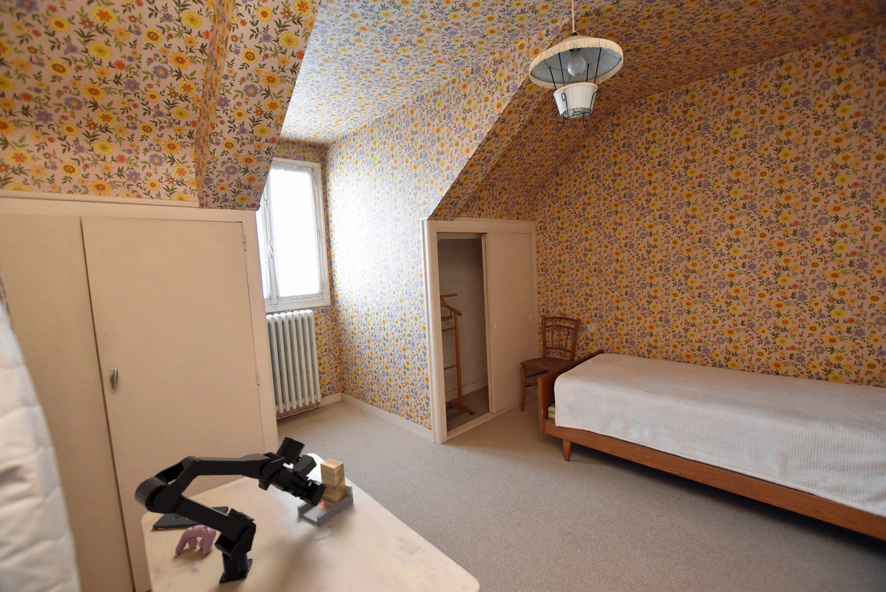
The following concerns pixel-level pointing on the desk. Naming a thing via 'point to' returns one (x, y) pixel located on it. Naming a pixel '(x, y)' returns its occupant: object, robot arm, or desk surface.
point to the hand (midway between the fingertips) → (317, 494)
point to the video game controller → (192, 540)
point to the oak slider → (333, 480)
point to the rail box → (325, 508)
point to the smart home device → (180, 520)
